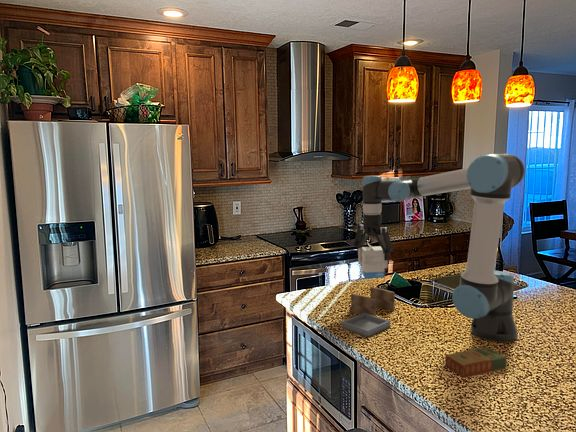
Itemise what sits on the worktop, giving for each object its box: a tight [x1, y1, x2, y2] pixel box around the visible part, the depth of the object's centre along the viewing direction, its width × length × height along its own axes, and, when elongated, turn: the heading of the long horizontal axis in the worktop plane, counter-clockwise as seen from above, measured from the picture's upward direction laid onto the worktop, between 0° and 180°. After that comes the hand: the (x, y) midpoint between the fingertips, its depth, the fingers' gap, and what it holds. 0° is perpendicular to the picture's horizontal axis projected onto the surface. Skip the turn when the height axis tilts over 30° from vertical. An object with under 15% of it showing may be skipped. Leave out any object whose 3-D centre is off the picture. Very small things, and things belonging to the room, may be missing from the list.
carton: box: [444, 346, 507, 379], centre depth 131 cm, size 8×16×4 cm, turn 109°
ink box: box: [361, 243, 386, 280], centre depth 177 cm, size 9×8×13 cm
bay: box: [348, 286, 396, 317], centre depth 181 cm, size 13×14×8 cm
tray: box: [341, 313, 391, 338], centre depth 164 cm, size 13×14×2 cm
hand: (372, 265), depth 178 cm, fingers closed on ink box, 11 cm apart
